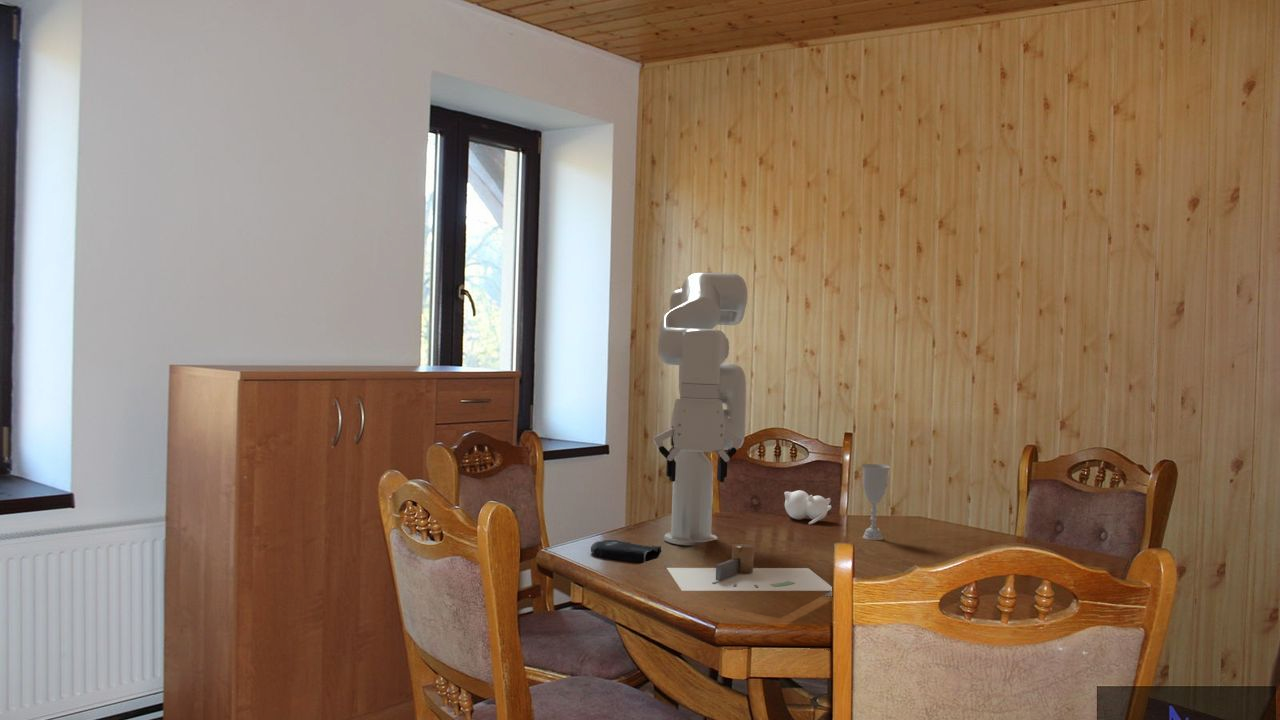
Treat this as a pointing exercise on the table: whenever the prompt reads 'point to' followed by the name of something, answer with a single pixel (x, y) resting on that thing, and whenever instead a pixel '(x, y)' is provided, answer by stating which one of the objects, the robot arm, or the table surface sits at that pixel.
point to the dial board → (751, 580)
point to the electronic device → (625, 551)
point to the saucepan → (736, 562)
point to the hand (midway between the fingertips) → (696, 481)
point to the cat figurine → (806, 506)
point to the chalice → (874, 493)
